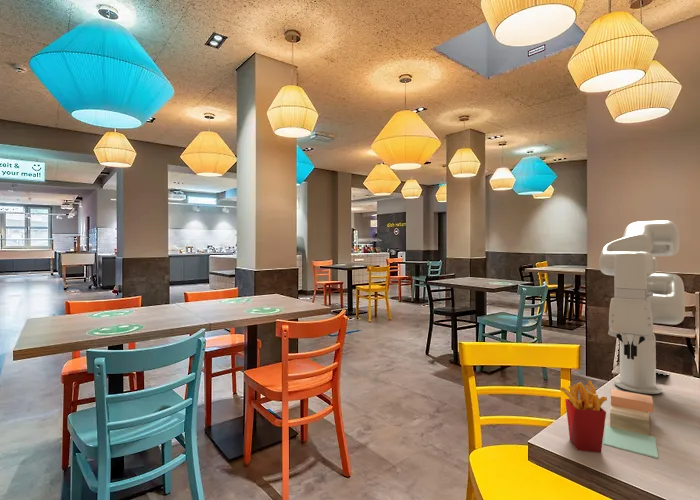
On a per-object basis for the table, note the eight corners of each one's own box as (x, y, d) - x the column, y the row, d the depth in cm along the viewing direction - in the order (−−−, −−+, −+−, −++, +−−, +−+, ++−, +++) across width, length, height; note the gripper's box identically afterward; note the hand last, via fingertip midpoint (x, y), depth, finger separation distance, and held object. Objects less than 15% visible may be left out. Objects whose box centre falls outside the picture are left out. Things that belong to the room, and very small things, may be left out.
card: (611, 397, 107) (611, 388, 107) (651, 405, 101) (651, 396, 101) (610, 404, 102) (610, 395, 102) (653, 413, 96) (653, 403, 96)
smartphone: (638, 369, 134) (638, 366, 135) (646, 372, 144) (646, 369, 145) (664, 374, 129) (664, 371, 129) (670, 376, 139) (670, 374, 139)
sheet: (611, 406, 110) (611, 393, 110) (646, 413, 105) (646, 399, 105) (610, 428, 97) (610, 412, 97) (649, 437, 92) (649, 420, 92)
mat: (605, 426, 97) (605, 425, 97) (654, 438, 92) (654, 437, 92) (603, 444, 89) (603, 443, 89) (658, 458, 83) (658, 457, 83)
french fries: (607, 456, 84) (607, 389, 84) (567, 452, 86) (567, 386, 86) (590, 436, 93) (590, 376, 93) (554, 433, 94) (554, 374, 94)
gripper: (662, 295, 106) (663, 359, 106) (599, 292, 115) (599, 351, 115) (665, 297, 100) (665, 366, 100) (598, 293, 109) (598, 356, 109)
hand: (630, 358), depth 107 cm, fingers closed
